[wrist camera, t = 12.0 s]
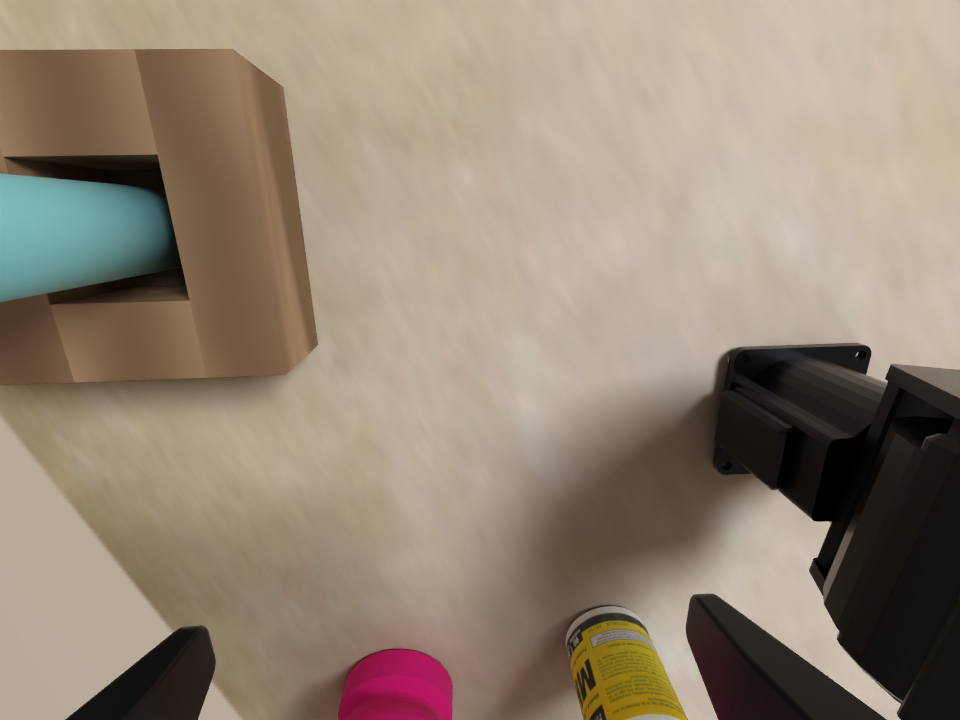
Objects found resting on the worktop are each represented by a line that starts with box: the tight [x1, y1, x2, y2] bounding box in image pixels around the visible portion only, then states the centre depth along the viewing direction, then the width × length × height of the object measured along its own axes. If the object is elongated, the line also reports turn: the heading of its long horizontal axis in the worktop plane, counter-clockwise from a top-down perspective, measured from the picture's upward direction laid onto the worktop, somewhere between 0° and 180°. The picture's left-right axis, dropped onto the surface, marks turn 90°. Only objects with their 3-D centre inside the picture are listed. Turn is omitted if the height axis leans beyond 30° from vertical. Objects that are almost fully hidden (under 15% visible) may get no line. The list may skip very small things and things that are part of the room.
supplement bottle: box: [565, 606, 688, 720], centre depth 22 cm, size 5×5×8 cm
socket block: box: [0, 49, 318, 385], centre depth 16 cm, size 10×10×4 cm
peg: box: [0, 174, 182, 302], centre depth 12 cm, size 3×3×12 cm
